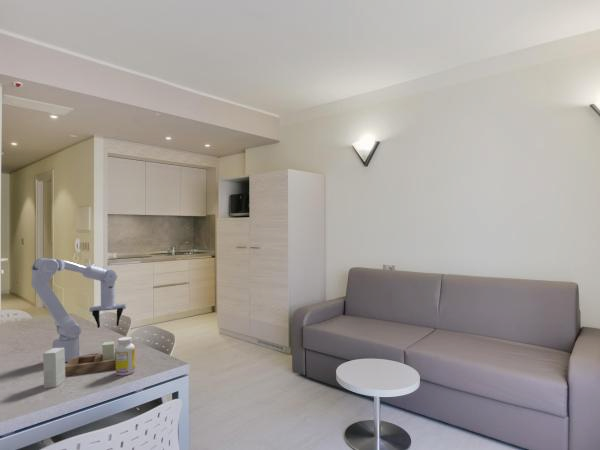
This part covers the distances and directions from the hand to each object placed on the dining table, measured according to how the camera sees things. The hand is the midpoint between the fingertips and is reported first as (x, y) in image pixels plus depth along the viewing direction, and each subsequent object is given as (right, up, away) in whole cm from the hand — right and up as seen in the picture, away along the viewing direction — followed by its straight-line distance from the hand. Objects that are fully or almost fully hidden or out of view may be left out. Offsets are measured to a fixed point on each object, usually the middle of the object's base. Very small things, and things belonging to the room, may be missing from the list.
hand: (108, 326), depth 172 cm
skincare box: (+1, -10, -39) cm, 40 cm away
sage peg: (+10, -9, -20) cm, 25 cm away
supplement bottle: (+21, -10, -29) cm, 37 cm away
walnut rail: (+7, -10, -22) cm, 25 cm away
